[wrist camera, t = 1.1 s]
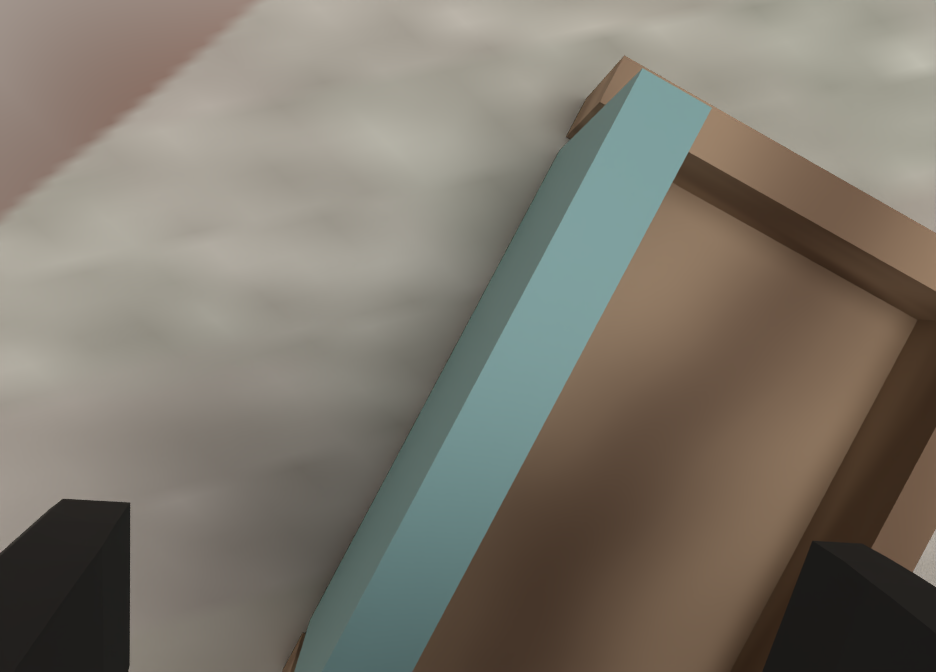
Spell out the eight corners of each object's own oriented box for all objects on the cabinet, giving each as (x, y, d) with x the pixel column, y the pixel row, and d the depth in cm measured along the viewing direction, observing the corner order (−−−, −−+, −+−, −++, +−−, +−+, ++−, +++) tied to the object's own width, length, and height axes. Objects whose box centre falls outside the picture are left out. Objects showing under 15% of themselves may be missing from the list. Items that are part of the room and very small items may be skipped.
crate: (947, 301, 21) (1056, 302, 17) (655, 851, 21) (704, 961, 17) (586, 98, 20) (624, 55, 16) (282, 670, 20) (256, 748, 17)
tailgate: (604, 175, 20) (711, 107, 13) (356, 643, 20) (329, 827, 13) (559, 150, 20) (642, 68, 13) (309, 620, 20) (257, 793, 13)
